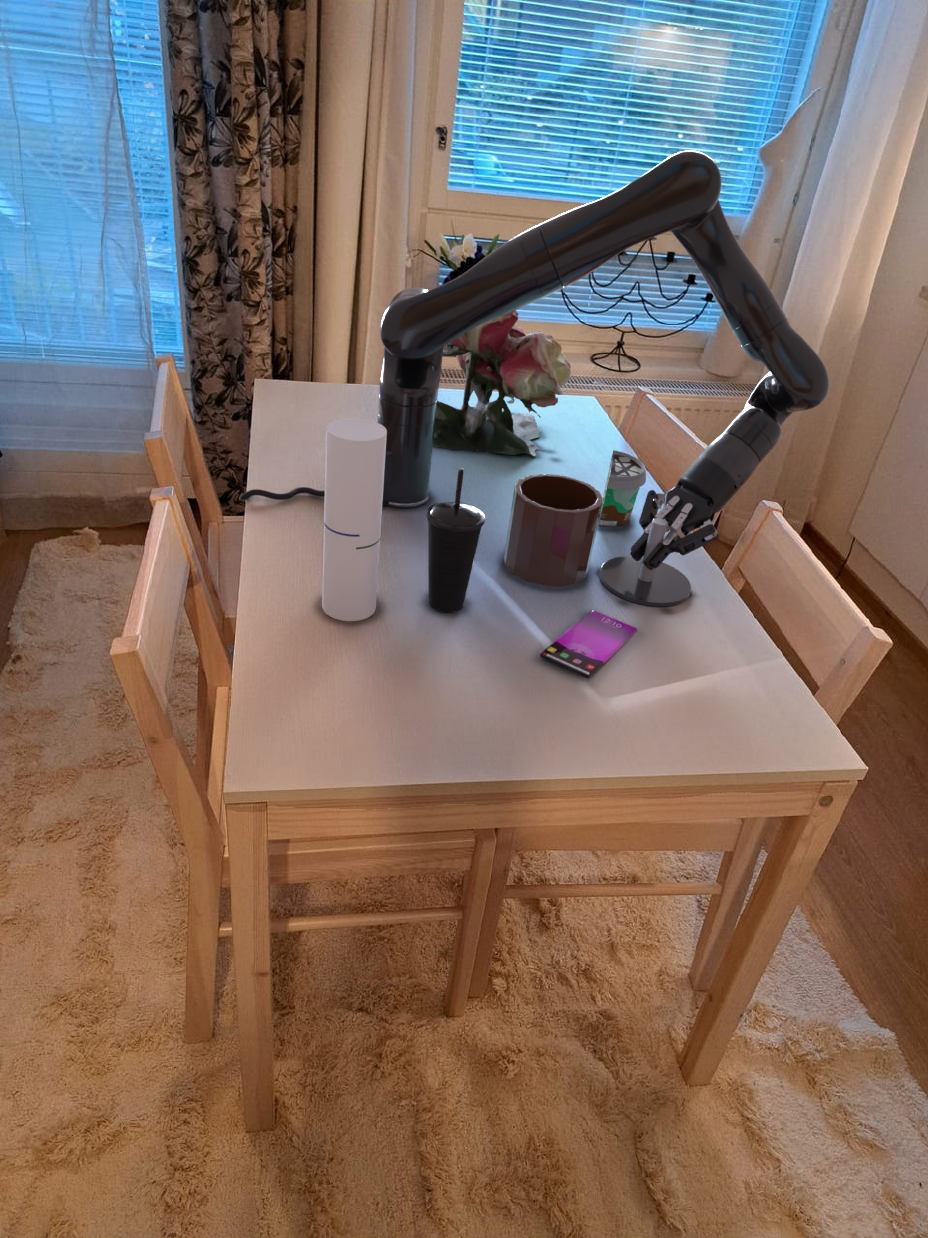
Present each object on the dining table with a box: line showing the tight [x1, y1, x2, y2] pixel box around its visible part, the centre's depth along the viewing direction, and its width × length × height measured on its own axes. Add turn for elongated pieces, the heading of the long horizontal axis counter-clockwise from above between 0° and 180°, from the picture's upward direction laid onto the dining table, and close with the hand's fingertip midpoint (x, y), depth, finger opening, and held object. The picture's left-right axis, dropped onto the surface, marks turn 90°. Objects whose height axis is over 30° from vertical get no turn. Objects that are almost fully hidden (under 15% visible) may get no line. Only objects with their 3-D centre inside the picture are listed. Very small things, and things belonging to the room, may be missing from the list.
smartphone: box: [539, 609, 638, 679], centre depth 115 cm, size 7×15×1 cm, turn 146°
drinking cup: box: [425, 467, 486, 614], centre depth 115 cm, size 8×8×20 cm
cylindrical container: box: [321, 417, 387, 622], centre depth 111 cm, size 7×7×25 cm
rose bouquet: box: [433, 310, 572, 457], centre depth 170 cm, size 26×29×30 cm
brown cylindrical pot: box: [503, 473, 603, 588], centre depth 129 cm, size 13×13×12 cm
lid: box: [599, 518, 692, 607], centre depth 128 cm, size 14×14×11 cm
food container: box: [598, 449, 647, 528], centre depth 147 cm, size 12×6×10 cm, turn 168°
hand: (640, 561), depth 127 cm, fingers closed on lid
